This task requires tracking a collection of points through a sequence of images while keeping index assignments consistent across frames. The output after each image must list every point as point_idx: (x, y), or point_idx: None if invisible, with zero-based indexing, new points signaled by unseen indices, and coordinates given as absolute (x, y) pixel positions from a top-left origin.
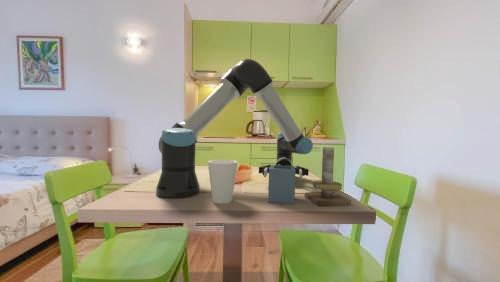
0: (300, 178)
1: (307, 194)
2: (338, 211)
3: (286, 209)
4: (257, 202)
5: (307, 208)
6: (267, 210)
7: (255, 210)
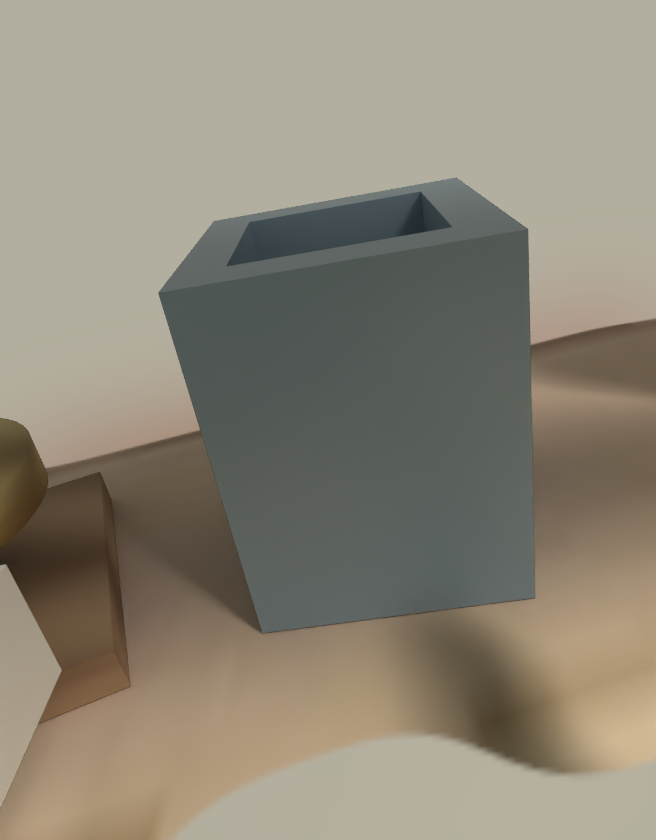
0: (50, 662)
1: (111, 601)
2: None
3: None
4: (551, 433)
5: (204, 456)
6: None
7: None
